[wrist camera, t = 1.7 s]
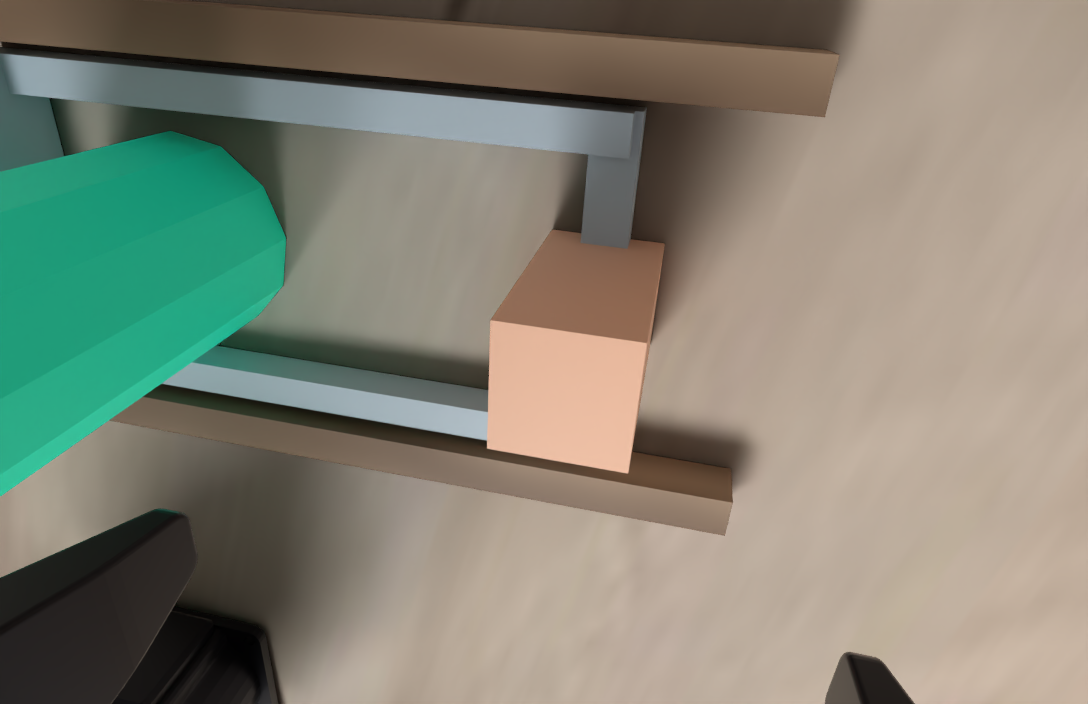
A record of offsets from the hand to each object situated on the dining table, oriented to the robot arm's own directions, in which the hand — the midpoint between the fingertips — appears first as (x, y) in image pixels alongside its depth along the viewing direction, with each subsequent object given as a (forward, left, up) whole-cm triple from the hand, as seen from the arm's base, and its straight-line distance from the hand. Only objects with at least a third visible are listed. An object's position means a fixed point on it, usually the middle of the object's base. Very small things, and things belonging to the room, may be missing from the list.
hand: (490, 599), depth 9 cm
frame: (0, +8, -11) cm, 14 cm away
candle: (0, +12, -11) cm, 17 cm away
